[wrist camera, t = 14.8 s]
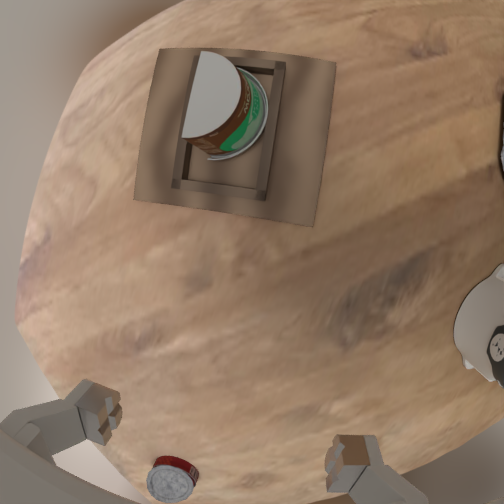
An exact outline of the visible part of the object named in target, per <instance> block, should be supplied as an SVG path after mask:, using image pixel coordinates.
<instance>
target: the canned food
mask: <svg viewBox="0 0 504 504" xmlns="http://www.w3.org/2000/svg"><path fill="white" fill-rule="evenodd" d="M198 476H199V473H198V470H197V469H196V468H195V467H194V466H193V465H192V464H190V463H189V462H187V461H185V460H183V459H180V458H178V457H173V456H161V457H159V458H157V460H156V462H155V464H154V466H153V468H152V470H151V471H150V472H149V473H148V477H147V480H146V481H147V488H148V490H149V492H150V494H151V496H153V497H154V498H155V499H156V500H159V501H162V502H165V503H175V502H179V501H182V500H185V499H187V498H188V497H189V496H190V495H191V494H192V491H193V488H194V487H195V486H196V482H197V479H198Z"/></svg>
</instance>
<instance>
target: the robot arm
mask: <svg viewBox="0 0 504 504" xmlns="http://www.w3.org/2000/svg"><path fill="white" fill-rule="evenodd" d="M454 341H455V344H456V347H457V348H458V350H459V351H460V352H461V354H462V358H463V365H464V367H466V368H467V369H472V368H475V369H476V370H477V371H478V372H479V373H480V374H482V375H483V376H484V377H485V378H486V379H487V380H488V381H491V382H492V381H496V380H497V382H498V384H499V385H500V386H501V387H502V388H503V389H504V264H503V263H502V264H500V265H499V266H498V267H497V268H496V269H495V271H494V272H493V273H492V275H491V276H490V277H488V278H487V279H485V280H484V281H482V282H481V283H479V284H478V285H477V286H476V287H475V288H474V289H473V290H472V291H471V292H470V293H469V294H468V296H467V297H466V299H465V300H464V302H463V304H462V306H461V308H460V310H459V312H458V315H457V318H456V321H455V326H454ZM120 399H121V398H120V393H119V392H118V391H115V390H113V389H110V388H108V387H105V386H103V385H100V384H98V383H95V382H92V381H90V380H88V379H84V380H82V381H81V382H80V383H79V384H78V385H77V386H76V387H75V388H74V389H73V390H72V391H71V393H70V394H69V395H68V396H67V397H66V398H65V399H64V400H62V399H58V400H55V401H51V402H47V403H43V404H39V405H35V406H31V407H27V408H23V409H18V410H14V411H13V412H12V413H10V414H9V415H8V416H7V417H6V418H5V419H4V420H3V421H2V422H1V423H0V504H140V503H137V502H135V501H132V500H129V499H127V498H124V497H121V496H119V495H116V494H114V493H111V492H109V491H107V490H104V489H102V488H100V487H98V486H95V485H93V484H91V483H89V482H87V481H85V480H82V479H80V478H79V477H77V476H74V475H73V474H71V473H69V472H67V471H65V470H63V469H61V468H60V467H58V466H56V464H55V462H54V460H53V457H52V455H54V454H56V453H59V452H61V451H63V450H65V449H67V448H70V447H72V446H74V445H76V444H78V443H80V442H82V441H84V440H86V439H88V440H91V441H93V442H96V443H98V444H101V445H103V446H105V445H106V444H107V442H108V441H109V439H110V438H111V436H112V433H111V430H113V429H116V428H117V427H118V425H119V424H120V421H121V418H122V407H121V406H120V404H119V403H118V402H119V401H120ZM325 471H326V472H327V473H328V476H327V478H326V487H327V492H340V493H348V494H349V495H350V496H351V498H352V499H353V500H354V501H355V502H356V504H429V502H428V499H427V496H426V495H425V494H423V493H422V492H420V491H419V490H418V489H417V488H416V487H414V486H413V485H412V484H410V483H409V482H408V481H407V480H406V479H404V478H403V477H402V476H401V475H399V474H398V473H397V472H396V471H394V470H393V469H392V468H391V467H390V466H388V465H384V462H383V459H382V455H381V452H380V449H379V445H378V442H377V439H376V436H375V435H336V436H335V437H334V439H333V446H332V447H330V448H329V449H328V451H327V454H326V457H325ZM485 504H504V497H501V498H498V499H495V500H493V501H490V502H488V503H485Z"/></svg>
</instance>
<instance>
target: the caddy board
mask: <svg viewBox="0 0 504 504" xmlns="http://www.w3.org/2000/svg"><path fill="white" fill-rule="evenodd" d="M201 51H209V52H214V53H216V54H219V55H221V56H224V57H225V58H227V59H228V60H229V61H230V62H231V63H232V64H233V65H234V66H236V67H237V68H241V69H243V70H245V71H247V72H249V73H250V74H252V75H253V76H254V77H255V78H256V79H257V80H258V81H259V82H260V84H261V85H262V87H263V89H264V91H265V93H266V96H267V101H268V115H267V120H266V123H265V127H264V129H263V131H262V133H261V135H260V136H259V138H258V139H257V140H256V141H255V142H254V143H253V145H251V146H250V147H249V148H248V149H247V150H245V151H243V152H242V153H240V154H238V155H235V156H233V157H230V158H226V159H221V160H207V159H208V158H211V157H212V156H210V155H209V154H207V153H205V152H204V151H202V150H201V149H199V148H197V147H196V146H194V145H193V144H191V143H189V142H188V141H186V140H184V139H183V138H182V133H183V128H184V123H185V118H186V113H187V108H188V104H189V99H190V95H191V91H192V86H193V82H194V78H195V74H196V70H197V66H198V62H199V58H200V54H201ZM335 71H336V62H331V61H326V60H321V59H315V58H309V57H303V56H297V55H290V54H283V53H274V52H265V51H255V50H242V49H224V48H168V49H160V50H159V54H158V58H157V62H156V66H155V70H154V75H153V79H152V84H151V88H150V93H149V98H148V103H147V108H146V114H145V119H144V125H143V131H142V137H141V143H140V150H139V157H138V164H137V172H136V180H135V189H134V199H133V200H138V201H146V202H154V203H161V204H169V205H176V206H183V207H190V208H197V209H204V210H211V211H217V212H224V213H230V214H237V215H243V216H249V217H256V218H262V219H268V220H274V221H280V222H286V223H292V224H297V225H303V226H309V227H313V224H314V218H315V212H316V207H317V201H318V195H319V189H320V183H321V176H322V170H323V163H324V157H325V150H326V143H327V136H328V129H329V121H330V114H331V106H332V97H333V89H334V80H335Z"/></svg>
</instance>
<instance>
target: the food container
mask: <svg viewBox="0 0 504 504" xmlns="http://www.w3.org/2000/svg"><path fill="white" fill-rule="evenodd" d="M267 115H268V101H267V96H266V93H265V91H264V89H263V87H262V85H261V84H260V82H259V81H258V80H257V79H256V78H255V77H254V76H253V75H252V74H250V73H249V72H247V71H245V70H243V69H241V68H237V67H236V66H234V65H233V64H232V63H231V62H230V61H229V60H228V59H227V58H225V57H224V56H221V55H219V54H216V53H214V52H209V51H201V54H200V58H199V62H198V66H197V70H196V74H195V78H194V82H193V86H192V91H191V95H190V99H189V104H188V108H187V113H186V118H185V123H184V128H183V133H182V138H183V139H184V140H186V141H188V142H189V143H191V144H193V145H194V146H196V147H197V148H199V149H201V150H202V151H204V152H205V153H207V154H209V155H210V156H212V157H211V158H208V159H207V160H221V159H226V158H230V157H233V156H235V155H238V154H240V153H242V152H243V151H245V150H247V149H248V148H249V147H250V146H251V145H253V143H254V142H255V141H256V140H257V139H258V138H259V136H260V135H261V133H262V131H263V129H264V127H265V123H266V120H267Z"/></svg>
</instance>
